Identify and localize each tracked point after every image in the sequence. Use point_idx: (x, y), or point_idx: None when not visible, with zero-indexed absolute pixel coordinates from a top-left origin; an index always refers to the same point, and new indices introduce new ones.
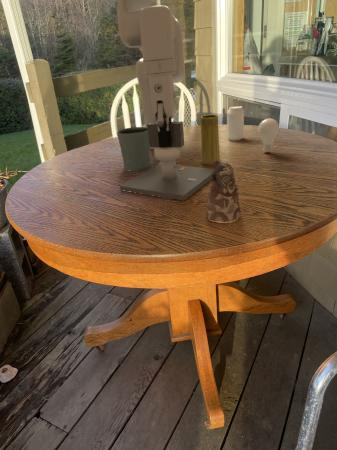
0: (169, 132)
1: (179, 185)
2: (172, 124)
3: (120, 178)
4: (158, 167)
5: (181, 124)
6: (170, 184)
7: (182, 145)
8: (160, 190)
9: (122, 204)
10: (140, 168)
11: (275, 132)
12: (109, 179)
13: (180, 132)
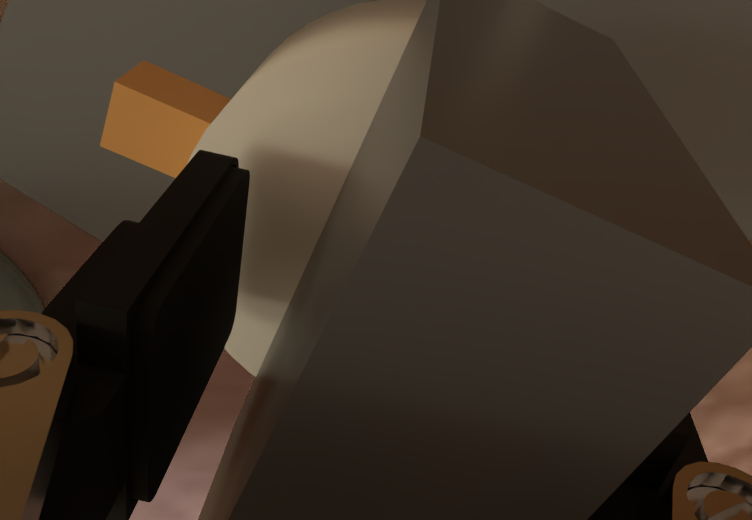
0: (675, 431)
1: (712, 18)
2: (594, 479)
3: (202, 427)
4: (77, 169)
5: (588, 181)
6: None
7: (558, 16)
8: (743, 210)
9: (730, 435)
10: (29, 304)
11: None
12: (207, 485)
13: (685, 155)
